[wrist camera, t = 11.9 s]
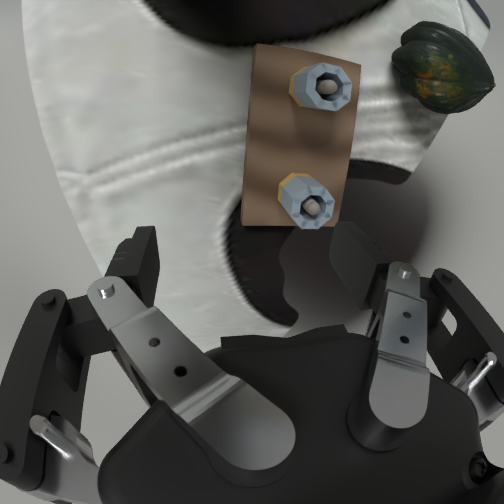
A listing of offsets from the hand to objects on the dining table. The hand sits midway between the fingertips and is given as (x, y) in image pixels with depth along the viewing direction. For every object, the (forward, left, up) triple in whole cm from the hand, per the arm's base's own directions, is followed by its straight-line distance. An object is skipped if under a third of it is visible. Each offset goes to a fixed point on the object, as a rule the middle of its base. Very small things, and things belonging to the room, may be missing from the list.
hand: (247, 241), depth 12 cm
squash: (-18, +30, -26) cm, 43 cm away
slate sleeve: (+5, +11, -24) cm, 26 cm away
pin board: (-2, +11, -26) cm, 28 cm away
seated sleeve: (-9, +11, -24) cm, 27 cm away
